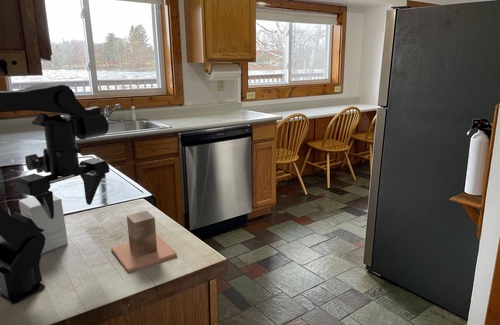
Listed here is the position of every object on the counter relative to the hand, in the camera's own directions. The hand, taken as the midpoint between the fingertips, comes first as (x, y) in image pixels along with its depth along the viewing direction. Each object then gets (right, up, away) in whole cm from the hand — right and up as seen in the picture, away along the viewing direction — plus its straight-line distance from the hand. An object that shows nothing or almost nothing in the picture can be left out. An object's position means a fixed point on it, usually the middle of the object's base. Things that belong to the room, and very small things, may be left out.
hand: (71, 211), depth 83 cm
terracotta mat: (+14, -11, +8) cm, 20 cm away
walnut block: (+14, -11, +8) cm, 19 cm away
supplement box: (-12, -10, +11) cm, 19 cm away
